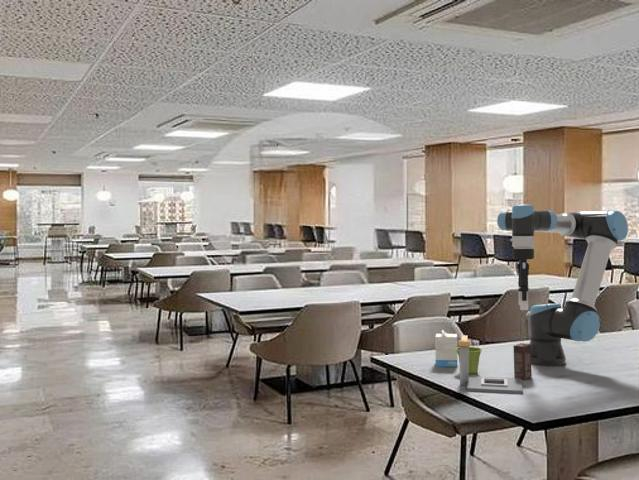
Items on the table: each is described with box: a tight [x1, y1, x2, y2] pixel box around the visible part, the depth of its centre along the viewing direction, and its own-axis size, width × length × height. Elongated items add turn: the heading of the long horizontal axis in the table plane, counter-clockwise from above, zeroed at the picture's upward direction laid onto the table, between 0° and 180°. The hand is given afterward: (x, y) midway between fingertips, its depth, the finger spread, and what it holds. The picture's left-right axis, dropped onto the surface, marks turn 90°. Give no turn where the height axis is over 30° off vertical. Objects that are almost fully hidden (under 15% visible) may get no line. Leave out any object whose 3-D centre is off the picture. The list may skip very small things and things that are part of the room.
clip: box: [457, 334, 471, 347], centre depth 240 cm, size 14×4×2 cm, turn 167°
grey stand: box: [459, 346, 524, 395], centre depth 233 cm, size 20×18×13 cm
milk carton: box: [434, 329, 458, 368], centre depth 268 cm, size 9×8×13 cm
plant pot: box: [456, 346, 483, 375], centre depth 255 cm, size 9×9×9 cm
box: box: [513, 342, 533, 381], centre depth 244 cm, size 6×4×12 cm
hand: (523, 307), depth 244 cm, fingers open, 13 cm apart
